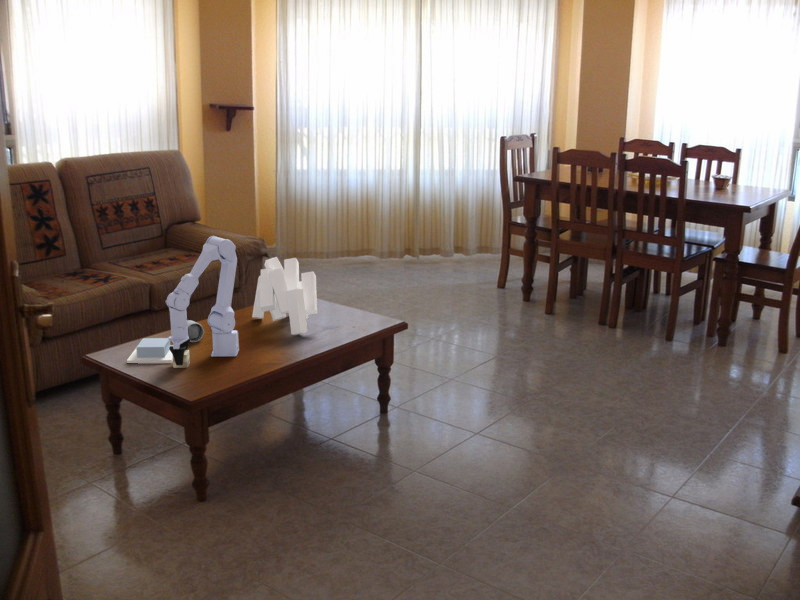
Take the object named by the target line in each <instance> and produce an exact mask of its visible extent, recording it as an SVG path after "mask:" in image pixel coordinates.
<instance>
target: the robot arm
mask: <svg viewBox="0 0 800 600" xmlns="http://www.w3.org/2000/svg"><path fill="white" fill-rule="evenodd" d="M236 247H237V246H236V244H234V242H233V241H232V240H230V239H228V238H226V239H225V238H222V237H218V236H216V235H211V236H209V237H208V238H207V240H206V241H205V243H204V244H203V246H202V251H201V253H200V255H199V256H198V258H197V259H196V261H195V263H194V265H193V267H192V268H191V270H190V272H189V273H185V274H184V275H183V276H181V278H180V281H179V283H178V284H177V286H176V287H175V289H174V290H173V291H172V292H170V293H169V294H168V295H167V297H166V300H165V304H166V306H167V307H168V311H169V319H170V320H169V321H170V334H171V335H169V336H168V337H167V338H168V340H170V341H171V342H172V345H173V346H170V347H169V349H170V351H171V353H172V354H173V356H174V359H175V363H176V365H183V357H184V352H185V350H189V345H190V343H191V342H190V340H191V338H190V337H189V336H188V327H187V320H188V318H187V317H188V316H187V314H188V312H187V308H188V307H189V305H190V299H191V297H192V295H193V293H194V291H195V290H196V288H197V287H198V286H199V284H200V283H199V278H200V277H201V275H202V274H203V273H204V271H205V270H206V269H207V268H208V266H209V264H210V263H211V262H212V261H217V260H219V262H220V263H221V265H220V271H219V280H218V285H217V286H218V287H217V292H216V302H215V304H214V305H213V306H212V307H211V310H210V313H209V315H208V318H207V324H208V326H209V327H211V337H212V352H211V354H210V357H212V358H213V357H237V356H238V353H239V351H240V343H239V331H238V330H236V329H235V326H236V320H235V313H236V312H235V311H234V309H233V308H232V300H233V293H234V285H235V278H236V271H237V264H238V257H237V253H236ZM234 329H235V330H234Z"/></svg>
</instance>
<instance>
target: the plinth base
mask: <svg viewBox="0 0 800 600" xmlns="http://www.w3.org/2000/svg"><path fill="white" fill-rule="evenodd" d="M168 338H169V337H154V338H153V337H149V338H148V337H147V338H146V337H145V338H142V339H141V340H140V342H139V343H138V344H137V346H136V347H135V349H134V350H133V351H132V353H131V354H130V356H129V357H128V358H127V359H126V364H127V363H138V364H173V354H172V353H171V351H170V349H169V347H170V346H173V344H171V340H168Z"/></svg>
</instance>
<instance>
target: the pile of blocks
mask: <svg viewBox="0 0 800 600" xmlns="http://www.w3.org/2000/svg"><path fill="white" fill-rule="evenodd" d="M283 265H284V266H283ZM283 265H282V263H281V262H280V260H279V258H278V256H275V257H271V258H269V259H265V261H264V268H261V269H260V275H259V276H258V279H257V283H256V284H257V285H256V291H255V297H254V303H253V309H252V315H251V317H252V318H253V319H259V320H260V319H262V320H263V319H264V315H265V312H270V315H271V317H272V318H271V319H272V321H273V322H276V321H280V320H283V319H285V318H286V317H287V314H288V316H289V324H290V325H289V326H290V335H303V334H307V333H308V332H309V331H308V323H307V320H309V315H315V314H316V315H317V314H318V298H317V297H318V295H317V292H318V291H317V275H316V273H315V271H313V270H312V271H307V272H306V271H305V272H301V278H300V267H299V265H300V263H299V261H298V259H297V257H291V258H285V259H284V260H283ZM300 279H301V280H300Z"/></svg>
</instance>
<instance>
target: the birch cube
mask: <svg viewBox="0 0 800 600" xmlns="http://www.w3.org/2000/svg"><path fill="white" fill-rule="evenodd" d="M190 358H191V357H190V349H188V350H185V352H184V357H183V365H176V363H175V359H174V356H173V362H172V367H173V368H174V369H175V368H176V369H177V368H178V369H179V368H183V369H185V368H189V366H190V363H191V359H190Z"/></svg>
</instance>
